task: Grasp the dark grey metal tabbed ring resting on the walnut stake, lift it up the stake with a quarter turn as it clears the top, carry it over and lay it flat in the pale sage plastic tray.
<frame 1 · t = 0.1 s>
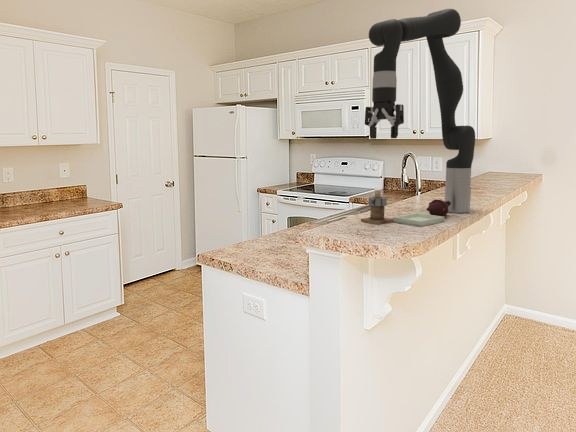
hand: (383, 138, 151), 29 cm above the table, fingers open, 8 cm apart
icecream: (437, 218, 170), on the table
stake: (377, 221, 163), on the table
tray: (418, 222, 161), on the table
ring: (377, 204, 162), point 6 cm above the table, touching stake
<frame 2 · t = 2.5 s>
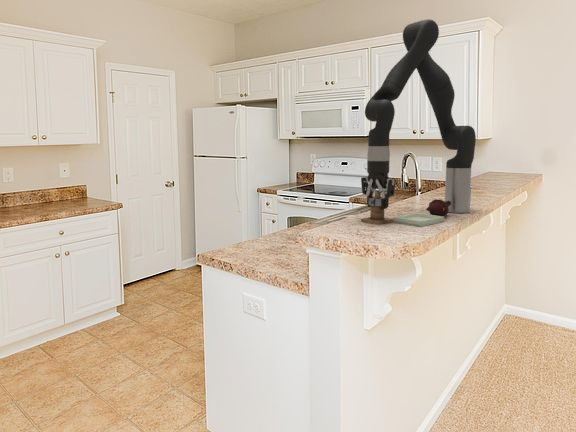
hand: (377, 207, 162), 5 cm above the table, fingers closed on ring, 6 cm apart
ring: (377, 204, 162), point 6 cm above the table, touching gripper, stake
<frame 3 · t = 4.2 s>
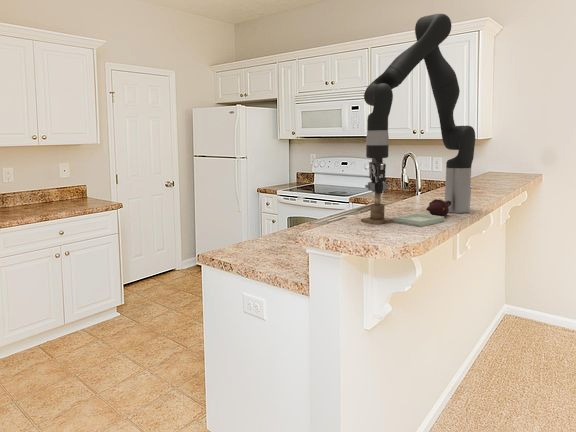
hand: (376, 192, 162), 10 cm above the table, fingers closed on ring, 6 cm apart
ring: (376, 189, 162), point 11 cm above the table, touching gripper
everything else where it was.
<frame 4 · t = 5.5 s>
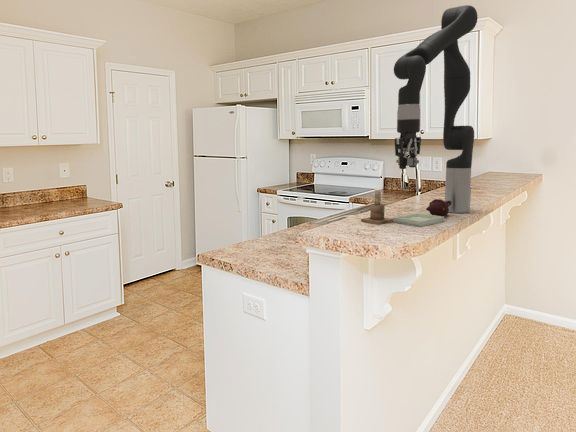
hand: (407, 167, 160), 19 cm above the table, fingers closed on ring, 6 cm apart
ring: (407, 165, 160), point 20 cm above the table, touching gripper
everything else where it was.
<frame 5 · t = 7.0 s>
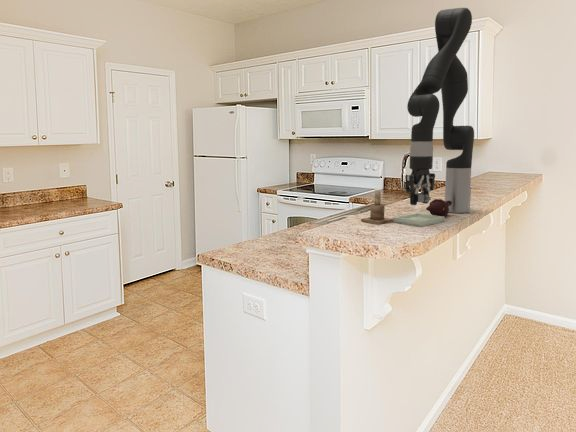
hand: (419, 203, 160), 6 cm above the table, fingers closed on ring, 6 cm apart
ring: (419, 201, 160), point 7 cm above the table, touching gripper
when the fingers open (1 cm above the table, at t = 8.5 s): ring drops 2 cm, resting on tray.
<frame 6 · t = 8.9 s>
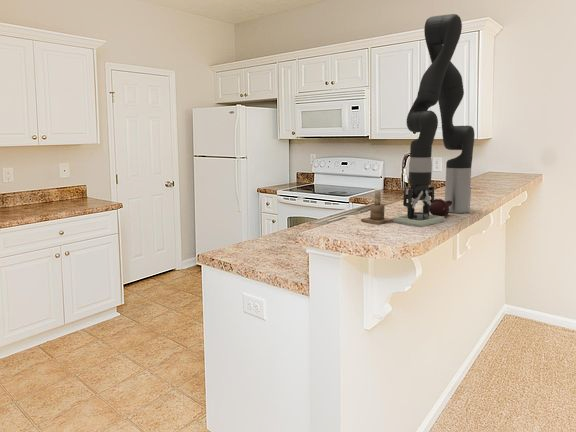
hand: (418, 217, 161), 2 cm above the table, fingers open, 8 cm apart
ring: (418, 220, 161), point 1 cm above the table, touching tray
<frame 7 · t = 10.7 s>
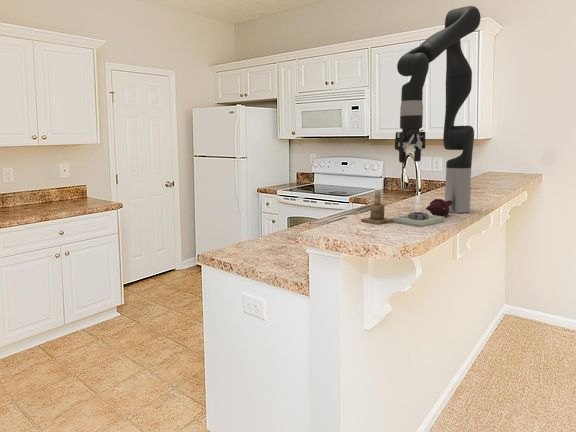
hand: (410, 161, 162), 21 cm above the table, fingers open, 8 cm apart
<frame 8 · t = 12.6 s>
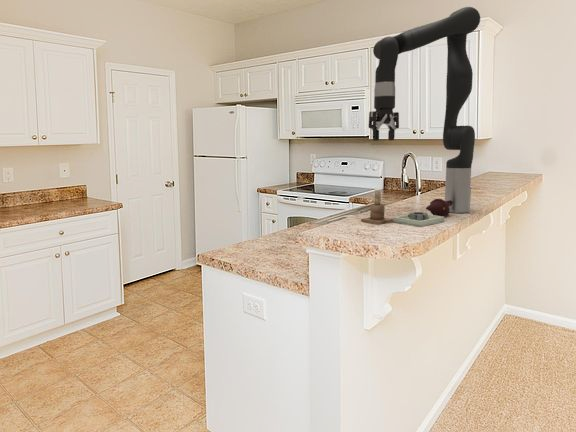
hand: (383, 140, 172), 28 cm above the table, fingers open, 8 cm apart
at the end: ring inside the target area on the tray (0.1 cm from its centre), point 0.6 cm above the tray's base; ring tilted 0°; the gripper is holding nothing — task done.
